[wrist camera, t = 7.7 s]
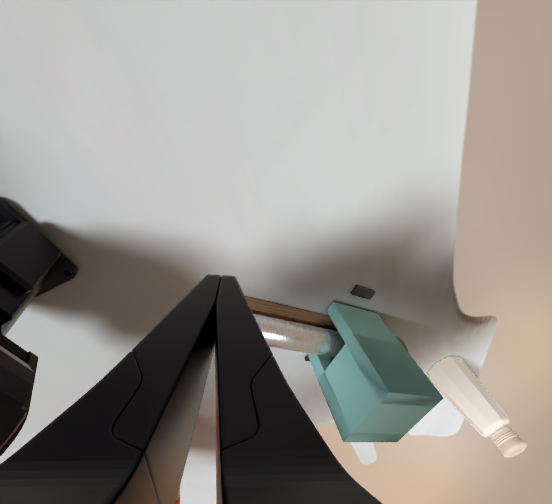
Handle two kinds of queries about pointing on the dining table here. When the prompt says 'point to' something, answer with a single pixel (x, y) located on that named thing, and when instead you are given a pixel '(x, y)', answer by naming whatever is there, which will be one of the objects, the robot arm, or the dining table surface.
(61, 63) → the dining table surface
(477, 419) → the pepper shaker
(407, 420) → the teal notched block
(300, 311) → the pipe rig
